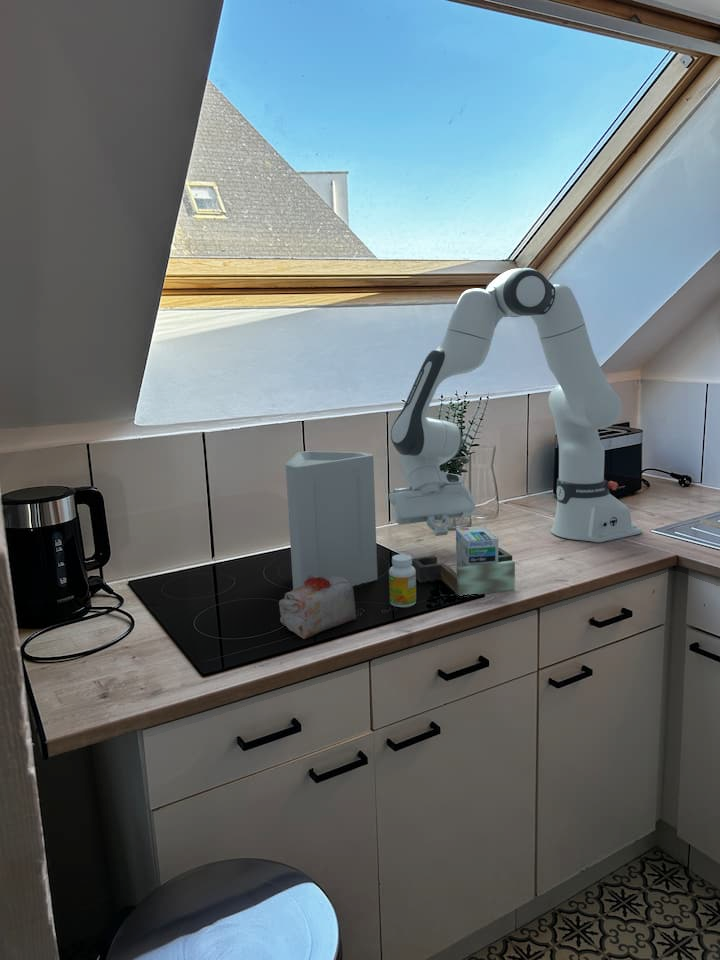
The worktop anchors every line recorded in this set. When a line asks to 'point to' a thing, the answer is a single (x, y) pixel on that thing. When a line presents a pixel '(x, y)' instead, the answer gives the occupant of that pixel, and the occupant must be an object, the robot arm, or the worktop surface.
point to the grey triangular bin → (332, 516)
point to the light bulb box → (475, 546)
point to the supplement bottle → (402, 581)
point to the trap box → (469, 574)
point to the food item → (318, 605)
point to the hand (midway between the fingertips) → (441, 534)
